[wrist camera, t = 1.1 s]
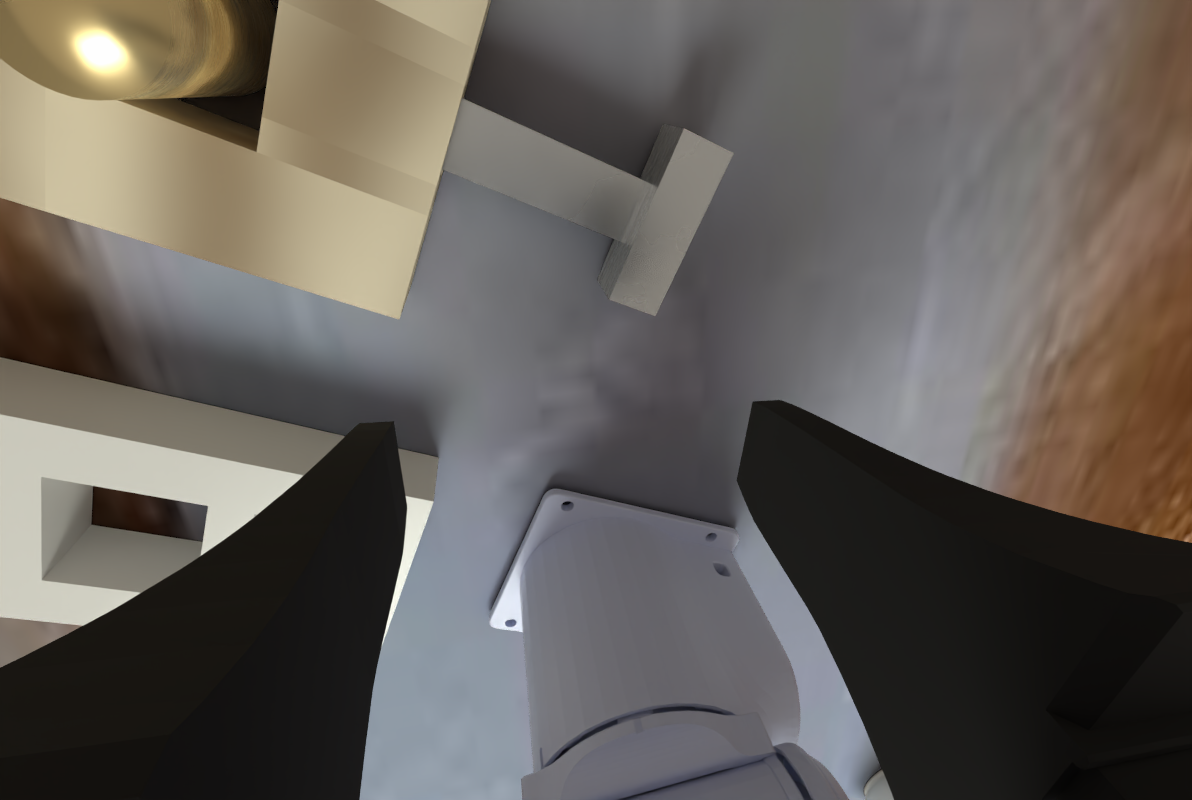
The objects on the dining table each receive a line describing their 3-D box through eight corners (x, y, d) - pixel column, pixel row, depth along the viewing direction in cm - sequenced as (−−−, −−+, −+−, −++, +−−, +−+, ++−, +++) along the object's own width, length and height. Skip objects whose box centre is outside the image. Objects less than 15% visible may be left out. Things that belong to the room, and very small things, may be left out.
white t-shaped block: (708, 146, 17) (733, 153, 15) (639, 295, 19) (655, 316, 17) (462, 24, 14) (460, 15, 13) (412, 211, 16) (404, 225, 15)
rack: (438, 457, 21) (433, 501, 19) (387, 603, 24) (378, 656, 22) (-189, 313, 15) (-305, 352, 13) (-149, 530, 18) (-237, 592, 16)
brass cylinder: (292, -10, 14) (178, -69, 9) (272, 116, 15) (162, 130, 10) (149, -77, 13) (-77, -189, 8) (141, 63, 14) (-60, 48, 9)
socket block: (512, -75, 14) (518, -107, 12) (409, 290, 18) (399, 319, 15) (-136, -450, 10) (-318, -609, 8) (-85, 130, 14) (-194, 137, 11)
